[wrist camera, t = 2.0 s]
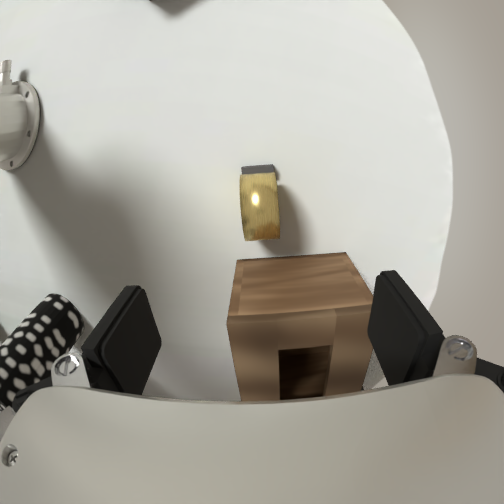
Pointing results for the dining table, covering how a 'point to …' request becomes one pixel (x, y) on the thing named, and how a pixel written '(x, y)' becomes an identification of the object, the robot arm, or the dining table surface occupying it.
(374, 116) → the dining table surface
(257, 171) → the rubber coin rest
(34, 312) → the white-spotted black cylinder
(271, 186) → the cylinder
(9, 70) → the robot arm
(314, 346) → the box
